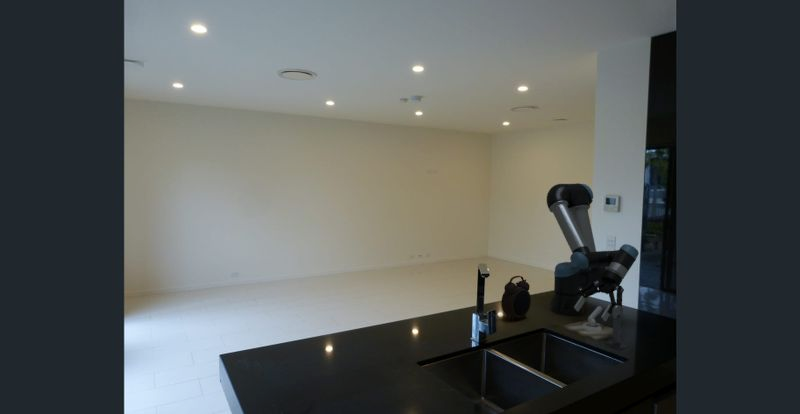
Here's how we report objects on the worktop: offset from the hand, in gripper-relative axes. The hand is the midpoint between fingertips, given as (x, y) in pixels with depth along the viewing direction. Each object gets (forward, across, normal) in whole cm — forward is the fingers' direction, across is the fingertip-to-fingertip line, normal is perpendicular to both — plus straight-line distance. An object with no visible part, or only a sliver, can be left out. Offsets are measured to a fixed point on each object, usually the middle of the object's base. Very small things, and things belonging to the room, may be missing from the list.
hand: (589, 314), depth 172 cm
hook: (+4, 0, -6) cm, 7 cm away
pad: (+4, 0, -7) cm, 8 cm away
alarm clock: (+17, +26, +6) cm, 32 cm away
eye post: (+7, -15, -3) cm, 17 cm away
